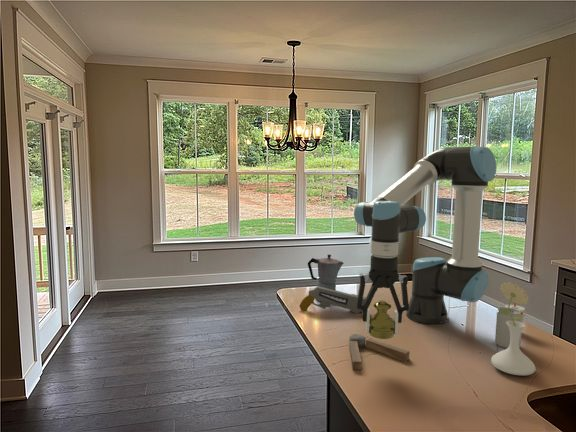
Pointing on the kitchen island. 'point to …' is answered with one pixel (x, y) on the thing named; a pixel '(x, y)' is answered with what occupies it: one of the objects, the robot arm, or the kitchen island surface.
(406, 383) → the kitchen island surface
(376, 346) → the long rectangular block
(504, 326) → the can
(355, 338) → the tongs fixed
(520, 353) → the flower in vase
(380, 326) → the yellow-green tapered rounded piece
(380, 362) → the kitchen island surface
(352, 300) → the gun
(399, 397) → the kitchen island surface
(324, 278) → the moka pot
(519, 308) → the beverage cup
